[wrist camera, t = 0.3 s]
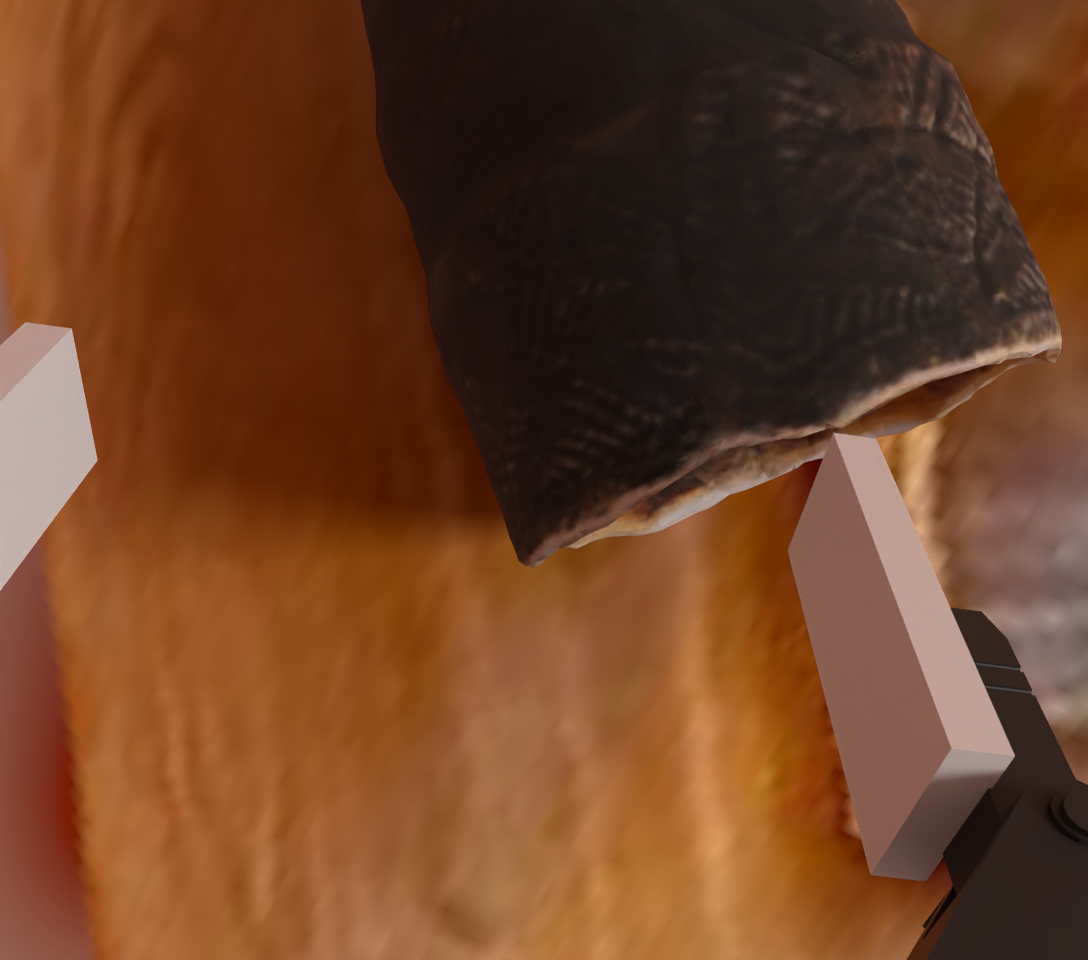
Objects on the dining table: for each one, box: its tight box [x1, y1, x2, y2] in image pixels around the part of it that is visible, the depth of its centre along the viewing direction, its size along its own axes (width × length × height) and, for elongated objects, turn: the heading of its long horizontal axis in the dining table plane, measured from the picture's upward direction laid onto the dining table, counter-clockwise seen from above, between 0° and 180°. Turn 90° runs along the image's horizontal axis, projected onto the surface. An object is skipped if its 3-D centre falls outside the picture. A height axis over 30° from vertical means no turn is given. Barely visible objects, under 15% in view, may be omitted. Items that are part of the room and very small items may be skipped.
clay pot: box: [361, 0, 1062, 568], centre depth 26 cm, size 15×15×25 cm
